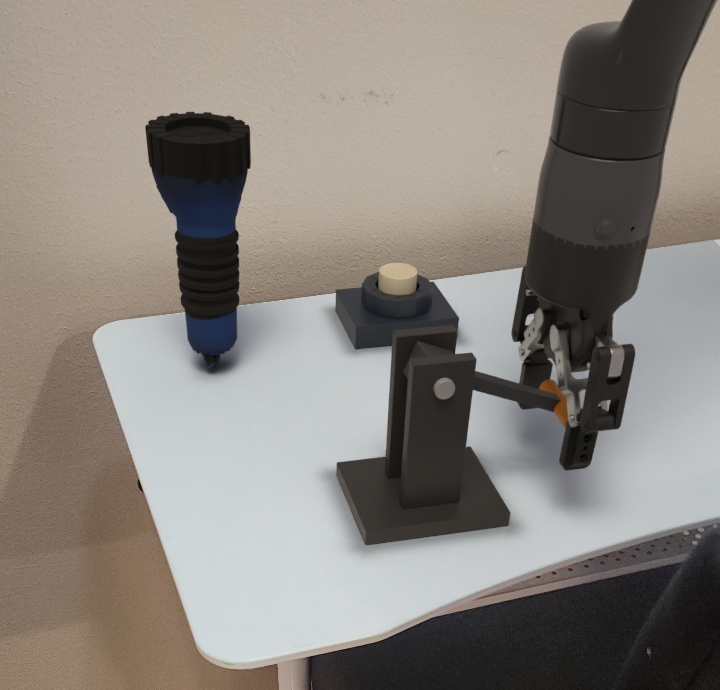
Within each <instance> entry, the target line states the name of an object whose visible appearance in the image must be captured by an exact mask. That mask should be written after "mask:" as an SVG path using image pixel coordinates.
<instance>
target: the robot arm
mask: <svg viewBox="0 0 720 690" xmlns="http://www.w3.org/2000/svg"><path fill="white" fill-rule="evenodd" d="M717 2H718V0H631V1H630V4H629V5H628V8H627V9H626V11H625V14H624V15H623V17H622V19H621V20H620V21H619V20H616V21H615V20H613V21H603V22H601V21H600V22H596V23H590V24H587V25H585V26H583V27H581V28H579V29H578V30H576V31H575V32H574V33H573V34H572V35H571V36H570V37H569V39H568V41H567V42H566V45H565V48H564V50H563V54H562V59H561V62H560V67H559V73H558V78H557V82H556V83H557V84H556V92H555V98H554V103H553V104H554V105H553V110H552V116H551V117H552V118H551V122H550V123H551V124H550V131H549V137H548V142H547V146H546V149H545V154H544V157H543V159H542V160H543V161H542V163H541V168H540V172H539V176H538V182H537V188H536V194H535V195H536V196H535V203H534V209H533V215H532V221H531V222H532V223H531V228H530V236H529V244H528V250H527V254H526V255H527V256H526V263H525V265H523V267H522V270H521V275H520V281H519V286H518V293H517V297H516V303H515V310H514V314H513V315H514V316H513V321H512V326H511V334H510V335H511V339H512V342H513V343H519V344H520V345H519V346H518V347H519V348H518V356H519V359H520V361H521V362H522V363H521V369H520V376H519V382H518V383H520V384H523V385H527V386H530V387H534V388H537V389H539V387H540V385H541V384H542V383H543V382H544V381H545V380H549V379H551V377H552V372H553V367H554V365H555V368H556V378H557V380H556V381H557V384H558V389H559V391H560V392H561V393H563V394H564V395H565V396H566V402H567V412H568V421H567V423H566V428H565V427H564V433H563V439H562V443H561V450H560V454H559V459H558V463H559V465H560V466H561V467H562V469H563V470H564V471H575V470H583V469H586V468H588V467H589V466H590V465H591V464H592V461H593V456H594V453H595V448H596V443H597V439H598V434H599V432H606V431H613V430H614V431H615V430H619V429H620V428H621V426H622V422H623V418H624V417H623V416H624V412H625V407H626V403H627V397H628V393H629V388H630V384H631V378H632V373H633V368H634V364H635V358H636V348H635V346H634V344H632V343H624V344H619V343H617V342H616V341H615V340H614V339H613V338H614V330H613V327H614V325H613V324H614V323H613V322H614V314H615V313H616V312H617V310H618V309H619V308H620V307H622V306H623V305H624V304H626V303H628V302H629V301H630V300H631V299H632V298H633V297H634V296H635V295H636V293H637V291H638V288H639V284H640V279H641V274H642V271H643V266H644V262H645V257H646V253H647V250H648V249H647V248H648V246H649V245H648V244H649V240H650V237H651V232H652V227H653V223H654V219H655V214H656V211H657V206H658V201H659V197H660V192H661V188H662V187H661V186H662V181H663V169H664V159H665V154H666V147H667V144H668V140H669V136H670V131H671V128H672V122H673V118H674V114H675V109H676V105H677V100H678V96H679V92H680V87H681V82H682V79H683V76H684V73H685V71H686V69H687V66H688V64H689V62H690V59H691V57H692V56H693V54H694V51H695V49H696V48H697V45H698V42H699V41H700V39H701V36H702V35H703V33H704V30H705V28H706V25H707V23H708V22H709V19H710V16H711V15H712V14H713V13H712V12H713V10H714V9H715V6H716V4H717ZM530 315H533V319H532V321H531V322H530V323H529V324H526V323H527V318H528V317H529V316H530ZM551 360H552V361H551ZM553 363H554V364H553ZM587 371H588V376H587V378H586V377H585V378H576V377H574V376H573V373H583V372H587ZM581 392H585V393H584V397H583V404H582V405H581V395H580V393H581ZM608 401H609V405H608ZM516 403H517V405H518V407H519V408H520V409H521V410H532V409H533V410H535V409H538V408H537V407H533V406H529V405H526V404H522V403H518V402H516Z"/></svg>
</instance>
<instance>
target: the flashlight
mask: <svg viewBox="0 0 720 690" xmlns="http://www.w3.org/2000/svg"><path fill="white" fill-rule="evenodd" d="M147 123H148V124H145V127H144V128H145V137H146V138H145V139H146V147H147V149H146V150H147V156H148V157H147V159H148V164H149V168H151V173H152V177H153V180H154V182H155V185H156V186H155V187H156V189H157V191H158V193H159V195H160V197H161V199H162V200H163V202H164V204H165V206H166V208H167V209H168V211H169V213H170V214H172V215H173V216H174V217H175V220H176V221H175V222H176V230H175V232H174V240H175V241H176V245H175V255H176V256H177V258H176V266H177V269H178V271H177V272H178V273H177V276H178V281H179V282H178V287H179V291H180V293H181V295H180V305H181V306H182V308H183V309H184V317H185V325H186V337H187V341H188V343H189V345H190V347H191V348H192V349H191V350H192V351H194V352H195V353H197V354H198V355H199V354H201V355H202V356H203V360H204V363H205V367H206V368H208V369H209V370H215V369H217V368H218V366H219V364H220V361H221V356H222V355H224V354H226V353H227V352H230V350H231V349H232V348H234V346H235V344H236V343H237V340H238V306H239V305H240V295H239V293H238V292H239V290H240V270H239V268H240V258H239V255H240V246H239V244H238V241H239V240H240V234H239V233H240V232H239V231H238V230H237V226H236V223H237V222H236V221H237V216H238V213H239V209H240V204H241V201H242V195H243V192H244V189H245V185H246V182H247V179H248V170H250V169H251V165H252V164H251V163H252V156H251V155H252V154H251V153H252V152H251V127H250V125H249V124H246V122H245V121H244V120H242V119H236V118H235V116H232V115H222V114H221V115H220V114H213V113H212V112H210V111H209V112H208V111H204V112H197V113H196V112H194V111H186V112H185V113H179V112H173V113H172V112H171V113H169V115H158V116H156V118H155V119H150V120H148V121H147Z"/></svg>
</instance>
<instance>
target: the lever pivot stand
mask: <svg viewBox="0 0 720 690" xmlns="http://www.w3.org/2000/svg"><path fill="white" fill-rule="evenodd" d="M458 331H459V330H458ZM458 331H457V330H456V328H455V327H454V325H446V326H435V327H425V328H414V329H403V330H393V337H392V345H391V357H390V371H389V373H390V374H389V390H388V391H389V392H388V406H387V408H388V409H387V425H386V443H385V445H386V446H385V456H378V457H370V458H362V459H354V460H353V459H352V460H345V461H336V477H337V480H338V482H339V485H340V487H341V489H342V492H343V494H344V496H345V499H346V501H347V504H348V506H349V509H350V511H351V514H352V516H353V519H354V521H355V523H356V525H357V528H358V531H359V533H360V535H361V537H362V540H363V542H364V545H365V546H367V545H368V546H369V545H376V544H382V543H383V544H384V543H390V542H398V541H404V540H411V539H421V538H426V537H435V536H440V535H448V534H456V533H464V532H471V531H478V530H486V529H492V528H501V527H508V526H509V523H510V518H511V511H510V509H509V508H508V506H507V504H506V503H505V501H504V499H503V498H502V496H501V494H500V493H499V491H498V489H497V488H496V486H495V484H494V483H493V481H492V479H491V477H490V476H489V475H488V473H487V471H486V470H485V467H484V466H483V465H482V463H481V461H480V459H479V458H478V456H477V455H476V453H475V451H474V450H473V448H472V447H471V446H467V441H468V435H469V434H468V432H469V425H470V417H471V410H472V401H473V393H474V390H473V385H474V377H475V371H476V368H477V357H476V356H475V354H474V353H473V352H463V353H462V352H461V353H456V352H457V351H456V350H457V341H458V333H457V332H458ZM417 341H420V342H423V343H426V344H430V345H433V346H437V347H440V348H444V349H447V350H450V351H452V352H453V354H451V355H441V356H431V357H420V358H410V360H409V357H410V355H411V353H412V351H413V349H414V347H415V344H416V342H417ZM408 360H409V373H408V379H407V377H406V375H405V373H404V372H403V371H404V368H405V366H406V364H407V362H408Z"/></svg>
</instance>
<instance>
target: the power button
mask: <svg viewBox="0 0 720 690" xmlns="http://www.w3.org/2000/svg"><path fill="white" fill-rule="evenodd" d="M378 272H379V281H378V289H379V290H380V291H382V292H384V293H386V294H393V295H406V294H411V293H414V292H416V286H417V274H418V269H417V267H414V266H413V265H411V264H408V263H402V262H391V263H386V264H383V265H382V266H380V267H379V269H378Z"/></svg>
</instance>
